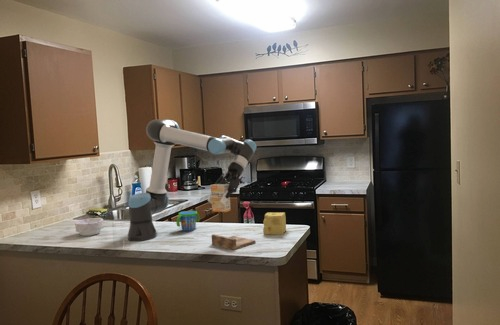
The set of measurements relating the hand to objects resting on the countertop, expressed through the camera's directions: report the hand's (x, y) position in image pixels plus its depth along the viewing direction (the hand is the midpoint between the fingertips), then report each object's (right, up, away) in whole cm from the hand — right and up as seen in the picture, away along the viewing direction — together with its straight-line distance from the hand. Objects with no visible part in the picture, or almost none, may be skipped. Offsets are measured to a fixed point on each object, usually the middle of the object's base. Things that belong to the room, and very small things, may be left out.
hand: (215, 202), depth 192 cm
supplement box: (+3, -5, +3) cm, 6 cm away
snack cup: (-19, -20, +37) cm, 46 cm away
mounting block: (+9, -20, +2) cm, 22 cm away
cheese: (+30, -18, +20) cm, 40 cm away
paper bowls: (-76, -23, +41) cm, 89 cm away
